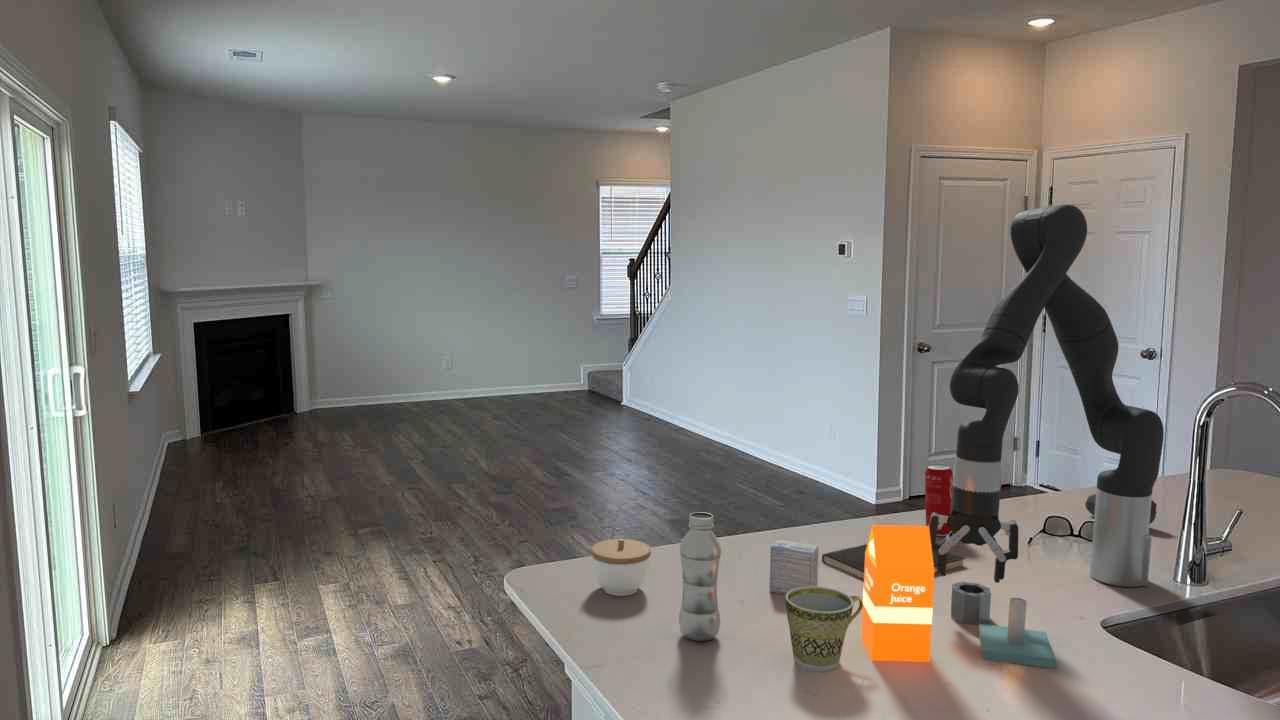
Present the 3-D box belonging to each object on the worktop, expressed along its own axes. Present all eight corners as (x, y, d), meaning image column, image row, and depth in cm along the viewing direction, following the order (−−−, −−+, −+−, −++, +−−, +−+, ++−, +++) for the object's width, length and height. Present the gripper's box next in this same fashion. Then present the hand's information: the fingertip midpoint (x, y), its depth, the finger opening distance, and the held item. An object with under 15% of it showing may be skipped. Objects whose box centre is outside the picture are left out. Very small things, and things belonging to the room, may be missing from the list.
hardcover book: (964, 568, 177) (965, 557, 177) (881, 590, 165) (882, 578, 165) (902, 545, 191) (903, 534, 190) (821, 563, 179) (821, 552, 178)
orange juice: (860, 638, 144) (866, 517, 141) (916, 639, 143) (922, 518, 141) (871, 660, 136) (877, 533, 133) (930, 662, 136) (937, 534, 133)
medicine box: (817, 591, 163) (819, 545, 162) (811, 599, 159) (813, 552, 158) (775, 583, 166) (777, 538, 165) (768, 592, 162) (770, 545, 161)
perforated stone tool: (1079, 516, 211) (1081, 487, 210) (1090, 512, 214) (1092, 484, 213) (1146, 533, 199) (1148, 502, 198) (1156, 528, 202) (1159, 498, 202)
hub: (987, 612, 154) (988, 584, 154) (990, 626, 149) (991, 597, 148) (950, 608, 156) (951, 580, 155) (951, 621, 150) (953, 593, 150)
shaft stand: (1044, 640, 144) (1048, 592, 142) (1054, 668, 134) (1058, 617, 133) (978, 632, 146) (981, 585, 145) (983, 659, 137) (986, 608, 136)
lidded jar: (614, 574, 170) (615, 526, 169) (661, 587, 164) (662, 537, 163) (578, 591, 161) (579, 541, 160) (627, 606, 155) (627, 553, 154)
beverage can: (954, 538, 194) (958, 470, 192) (923, 536, 195) (927, 468, 193) (951, 529, 199) (954, 464, 198) (920, 527, 201) (924, 462, 199)
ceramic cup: (807, 683, 129) (810, 616, 127) (770, 653, 138) (772, 591, 136) (880, 667, 134) (884, 603, 133) (840, 640, 143) (843, 579, 142)
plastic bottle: (708, 649, 139) (711, 524, 136) (670, 639, 142) (672, 517, 140) (727, 634, 144) (730, 514, 142) (690, 624, 148) (692, 507, 145)
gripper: (1020, 483, 151) (1012, 575, 153) (931, 474, 155) (925, 565, 157) (1025, 494, 144) (1017, 591, 146) (932, 485, 148) (925, 580, 150)
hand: (969, 577), depth 152 cm, fingers open, 8 cm apart
